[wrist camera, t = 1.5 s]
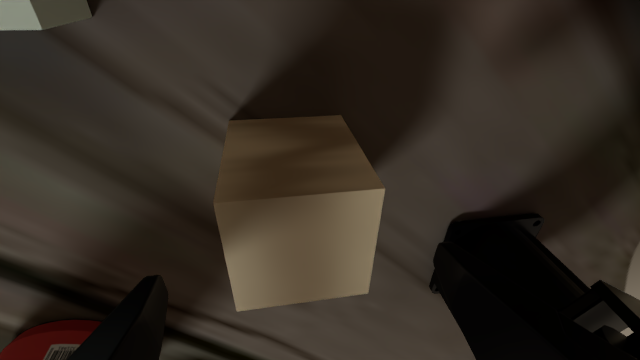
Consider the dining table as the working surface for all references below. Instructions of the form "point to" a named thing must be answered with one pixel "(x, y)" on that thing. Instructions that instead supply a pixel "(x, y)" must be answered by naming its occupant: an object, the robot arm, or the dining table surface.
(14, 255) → the dining table surface
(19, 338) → the canned food
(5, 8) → the base
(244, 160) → the block
